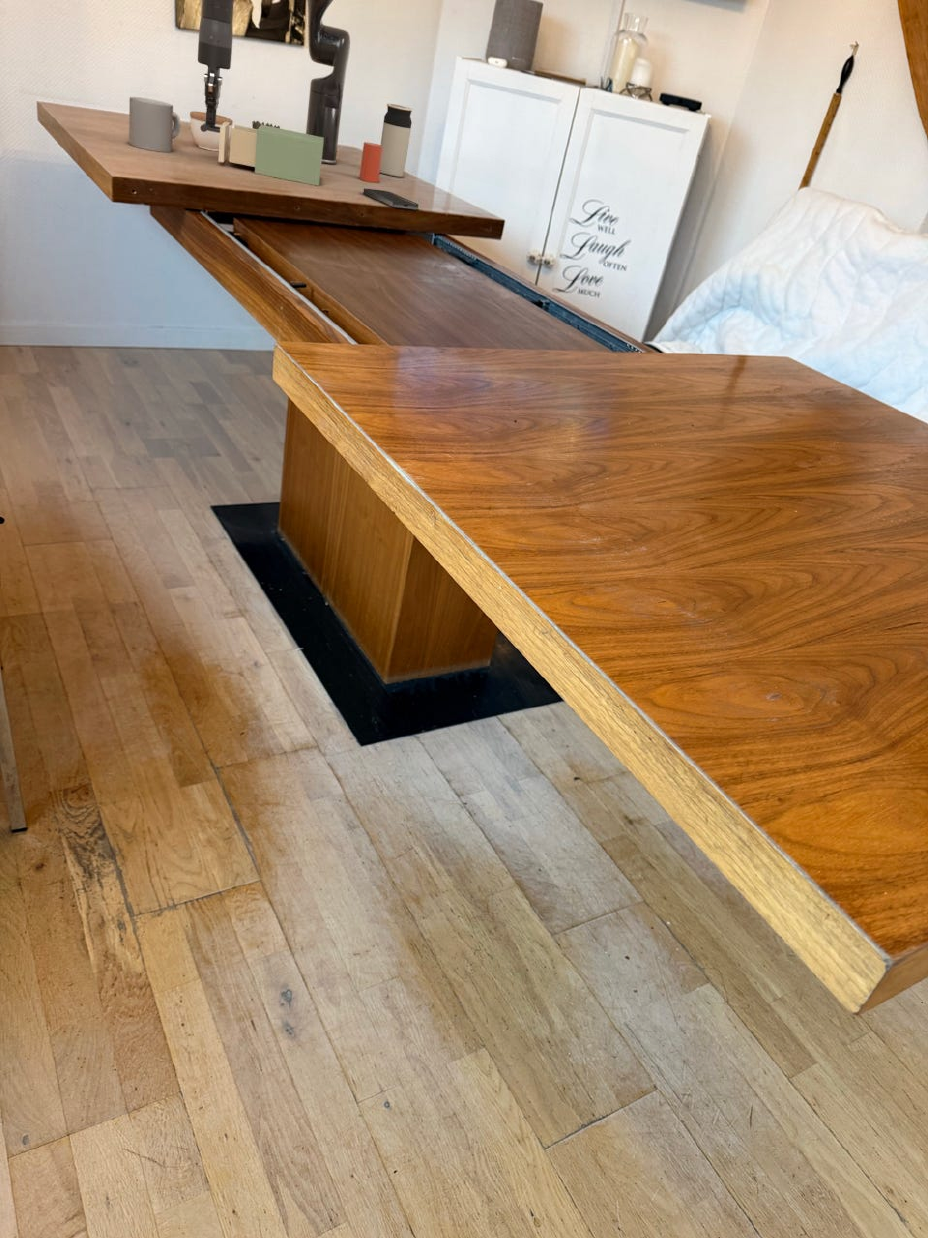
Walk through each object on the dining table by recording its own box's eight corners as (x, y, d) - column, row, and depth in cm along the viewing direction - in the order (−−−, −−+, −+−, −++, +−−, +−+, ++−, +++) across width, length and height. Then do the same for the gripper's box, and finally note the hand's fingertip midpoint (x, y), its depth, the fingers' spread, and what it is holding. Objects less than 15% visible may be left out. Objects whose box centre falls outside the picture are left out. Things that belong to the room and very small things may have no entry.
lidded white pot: (235, 151, 248) (238, 112, 243) (223, 154, 239) (225, 114, 234) (197, 142, 248) (198, 103, 243) (182, 145, 239) (184, 104, 234)
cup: (274, 160, 249) (277, 127, 245) (247, 154, 249) (249, 121, 244) (279, 157, 256) (282, 125, 251) (253, 151, 255) (255, 119, 251)
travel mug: (378, 173, 268) (388, 104, 258) (375, 169, 274) (384, 101, 265) (405, 178, 270) (415, 110, 260) (401, 174, 276) (411, 107, 267)
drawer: (198, 157, 221) (199, 121, 217) (203, 151, 230) (204, 117, 226) (279, 173, 225) (282, 138, 221) (281, 167, 234) (284, 133, 230)
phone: (388, 190, 234) (420, 204, 225) (387, 195, 235) (419, 209, 225) (361, 187, 229) (393, 201, 220) (361, 192, 230) (392, 206, 221)
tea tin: (357, 176, 253) (361, 140, 249) (374, 179, 255) (379, 144, 251) (362, 180, 249) (367, 144, 245) (380, 183, 252) (385, 147, 247)
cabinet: (254, 173, 224) (257, 129, 219) (257, 166, 234) (260, 124, 229) (318, 185, 227) (323, 142, 222) (319, 178, 237) (323, 137, 232)
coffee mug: (141, 149, 220) (142, 102, 215) (121, 140, 225) (122, 94, 220) (192, 154, 229) (193, 109, 223) (171, 145, 234) (173, 101, 229)
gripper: (229, 47, 209) (224, 131, 218) (234, 46, 220) (228, 126, 229) (195, 39, 207) (191, 124, 216) (201, 38, 218) (197, 119, 227)
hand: (210, 125), depth 222 cm, fingers closed
